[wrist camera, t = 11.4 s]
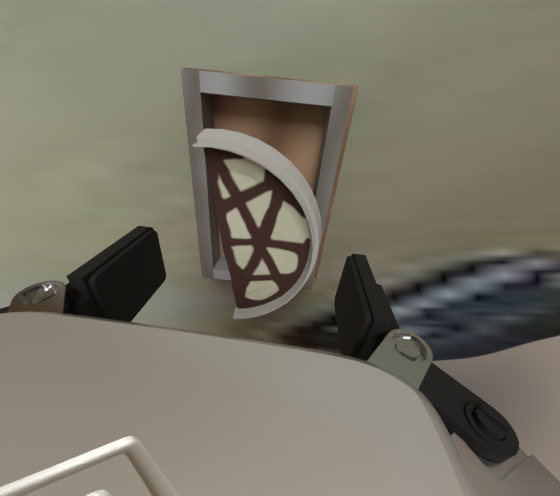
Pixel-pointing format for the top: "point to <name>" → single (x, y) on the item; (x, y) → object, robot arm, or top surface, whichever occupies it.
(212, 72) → the cradle
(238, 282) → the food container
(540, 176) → the top surface
